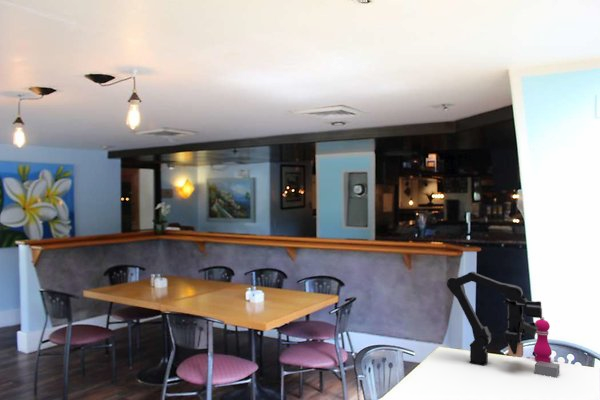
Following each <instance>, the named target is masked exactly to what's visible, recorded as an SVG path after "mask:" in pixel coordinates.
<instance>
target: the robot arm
mask: <svg viewBox="0 0 600 400" xmlns="http://www.w3.org/2000/svg"><path fill="white" fill-rule="evenodd" d="M471 282H473V283H475V284H478V285H481V286H484V287H487V288H489V289H491V290H494V291H496V292H497V293H500V295H501V294H502V296H503V297H505V298H506V299H505V301H503V302H502V304H503V305H505V306H507V318H506V321H507V327H506V331H505V332H503V339H505V340H506V341H507V344H509V346H510V348H511V350H512V352H513V354H516V352H517V346H518V342H519V343H522V342H521V341H522V339H523V338H524V337H525V336H526V334H529V335H530V336H532V337H535V336H536V335H537V333H536V332H537V329H538V328H537V327H536V323H535V322H534V321H531V322H526V321H525V318H524V317H523V314H524V315H525V316H526V317H527V318H535V319H540V318H542V316H543V308H542V301H539V300H537V301H533V300H532V301H531V300H528V298H527V297H526V296H525V295H524V294H523V293H524V292H523V289H522V288H521V287H520V286H518V285H515V284H510V283H504V282H501V281H497V280H495V279H493V278H491V277H487V276H484V275H483V274H479V273H477V272H476V271H470V272H468V273H467V274H463V275H461V276H453V277H450V278H448V280H447V282H446V287H447V288H448V289H449V291H450V292H451V294H452V295H453V296H454V297H455V299H457V301H458V303H459V305H460V307H461V309H462V311H463V313H464V315H465V316H466V320H467V321H468V324H469V325H470V327H471V331H472V335H473V341H472V342H471V343H470V344H469V348H470V349H469V351H470V355H469V356H470V359H469V364H475V365H480V366H485V365H486V364H487V363H489V356H488V355H489V352H487V350H488V349H487V348H486V347H487V346H488V345H489V344H490V342H491V341H492V333H491V332H490V330H489V328H488V326H487V325H486V326H483V324H482V323H481V322H480V320H479V317H478V316H477V314H476V312H475V309H474V308H473V306H472V303H471V302H470V301H469V298H468V296H467V294H466V289H465V284H468V283H471Z"/></svg>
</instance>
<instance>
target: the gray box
mask: <svg viewBox="0 0 600 400" xmlns="http://www.w3.org/2000/svg"><path fill="white" fill-rule="evenodd" d="M559 373H560V364H558V363H554V362H553V363H552V362H550V363H548V362H542V361H535V364H534V374H535V375H539V376H544V375H545V377H550V376H551V378H555V377H556V378H555V379H557V378H558V377H559V375H560V374H559ZM557 376H558V377H557Z"/></svg>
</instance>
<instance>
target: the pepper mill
mask: <svg viewBox="0 0 600 400" xmlns="http://www.w3.org/2000/svg"><path fill="white" fill-rule="evenodd" d="M534 323H536V327H537V328H538V329H537V332H536V336H537V338H536V341H535V344H534V346H533V353H534V354H535V356H534V361H535V360H536V361H535V362H537V361H542V362H548V363H552V360H551V357H550V356H552V353H553V352H552V351H553V350H552V349H551V348H552V347H551V346H550V344H549V341H548V336H549V330H550V327H551V325H550V323H549V321H548V320H545V317H544V316H543V315H542V318H539V319H538V320H536V321H535V322H534Z"/></svg>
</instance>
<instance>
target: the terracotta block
mask: <svg viewBox="0 0 600 400" xmlns="http://www.w3.org/2000/svg"><path fill="white" fill-rule="evenodd" d="M507 344H508V343H507ZM507 347H508V349H507V350H508V355H507V356H509V357H515V358H516V357H517V358H522V357H523V356H524V342H520V343H519V342H518V346H517V352H516V354H513V352H512V350H511V348H510V346H509V344H508V346H507Z"/></svg>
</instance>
